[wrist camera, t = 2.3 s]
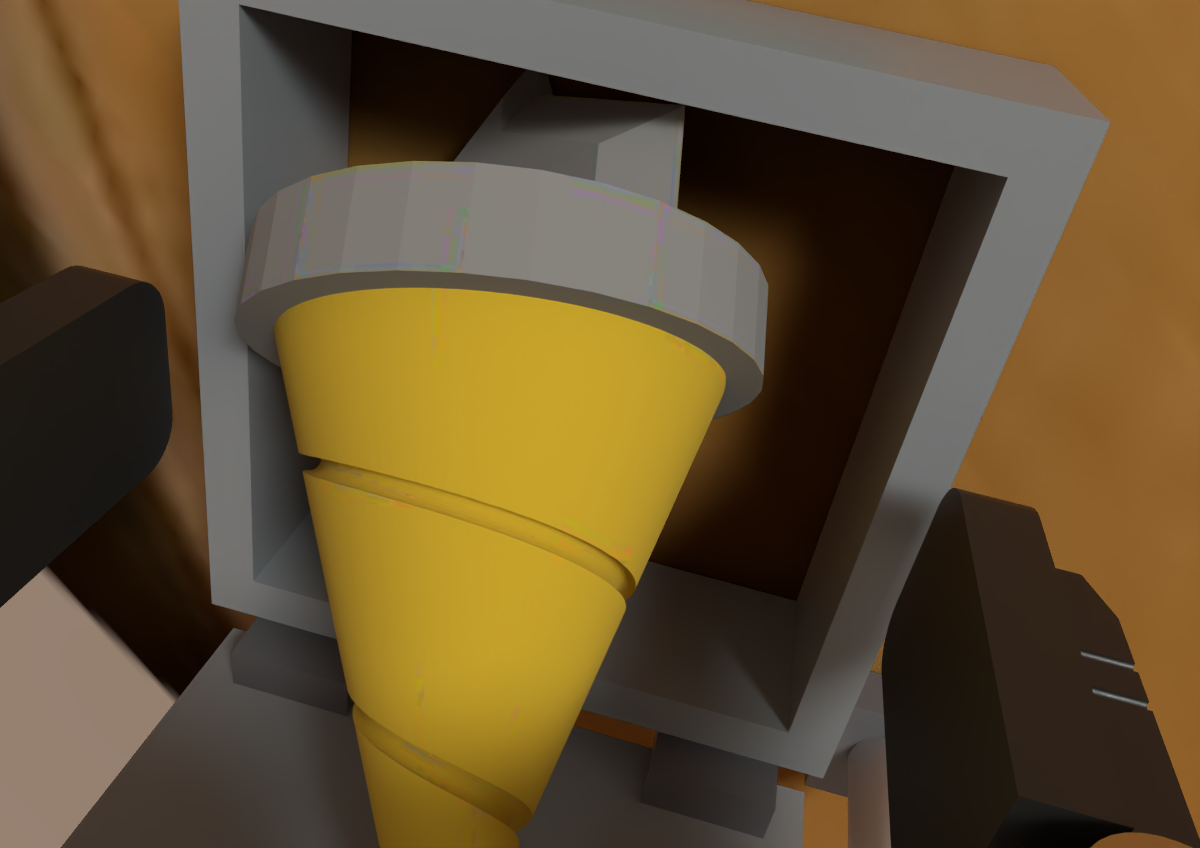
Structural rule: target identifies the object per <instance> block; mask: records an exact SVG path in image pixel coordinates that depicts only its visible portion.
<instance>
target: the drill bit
mask: <svg viewBox="0 0 1200 848" xmlns="http://www.w3.org/2000/svg"><path fill="white" fill-rule="evenodd" d="M684 117H685V105H675V104H661V103H647V102H634V101H620V100H606V99H593V98H579V97H565V96H553V93H552V89H551V85H550V81H549V77H548V74H546V73H542V72H538V71H533V70H529V69H526V70H525V71H524V72H523V74H522V75H521V76H520V77H519V78H518V80H517V81H516V82H515V83H514V84H513V86H512V87H511V88H510V89H509V90H508V92H507V93H506V94H505V95H504V96H503V98H502V99H501V100H500V102H499V103H498V104H497V105H496V107H495V108H494V109H493V111H492V112H491V113H490V115H489V116H488V117H487V118H486V120H485V121H484V122H483V124H482V125H481V126H480V128H479V129H478V130H477V132H476V133H475V134H474V135H473V137H472V138H471V139H470V141H469V142H468V143H467V145H466V146H465V147H464V149H463V150H462V151H461V152H460V154H459V155H458V156H457V158H456V159H455V160H454V162H439V161H407V162H396V163H384V164H373V165H361V166H354V167H350V168H345V169H341V170H337V171H332V172H328V173H323V174H319V175H315V176H311V177H309V178H306V179H304V180H302V181H300V182H297V183H295V184H293V185H291V186H288V187H286V188H284V189H282V190H279V191H278V192H277V193H276V194H274V195H273V196H272V197H271V198H270V199H269V200H268V201H266V202H265V203H264V204H263V205H262V206H261V207H260V208H259V209H258V211H257V214H256V216H255V219H254V222H253V224H252V227H251V231H250V237H249V242H248V247H247V253H246V258H245V264H244V269H243V274H242V280H241V285H240V291H239V296H238V301H237V307H236V312H235V318H234V320H235V324H236V327H237V330H238V334H239V336H240V337H241V338H242V339H243V340H244V341H245V342H246V343H247V344H248V345H249V346H250V347H251V348H252V349H253V350H254V351H255V352H257V353H258V354H260V355H261V356H263V357H264V358H266V359H267V360H269V361H270V362H272V363H273V364H275V365H277V366H279V367H281V369H282V374H283V379H284V384H285V389H286V393H287V398H288V403H289V408H290V413H291V418H292V423H293V428H294V432H295V437H296V442H297V447H298V452H299V453H300V454H304V455H308V456H312V457H317V458H321V462H320V464H319V465H318V466H317V467H316V468H315V469H313V470H304V471H303V476H304V481H305V486H306V491H307V496H308V501H309V505H310V510H311V515H312V520H313V525H314V530H315V535H316V540H317V544H318V549H319V554H320V559H321V564H322V569H323V574H324V579H325V583H326V588H327V593H328V598H329V603H330V608H331V613H332V617H333V622H334V627H335V632H336V637H337V642H338V647H339V652H340V656H341V661H342V666H343V671H344V676H345V681H346V686H347V690H348V693H349V695H350V697H351V699H352V700H353V701H354V703H355V704H354V707H353V720H354V725H355V729H356V734H357V739H358V744H359V749H360V754H361V759H362V763H363V768H364V773H365V778H366V783H367V788H368V793H369V798H370V802H371V807H372V812H373V817H374V822H375V827H376V832H377V836H378V841H379V846H380V848H518V847H519V844H520V842H519V838H518V836H517V835H516V833H515V832H517V831H518V830H520V829H522V828H523V827H525V826H526V825H527V824H528V823H529V822H530V821H531V819H532V817H533V814H534V812H535V810H536V808H537V805H538V803H539V801H540V799H541V797H542V794H543V792H544V790H545V788H546V786H547V783H548V781H549V779H550V777H551V774H552V772H553V770H554V768H555V766H556V763H557V761H558V759H559V757H560V755H561V752H562V750H563V748H564V746H565V743H566V741H567V739H568V737H569V735H570V732H571V730H572V728H573V726H574V724H575V721H576V719H577V717H578V715H579V713H580V710H581V708H582V706H583V704H584V701H585V699H586V697H587V695H588V693H589V690H590V688H591V686H592V684H593V682H594V679H595V677H596V675H597V673H598V670H599V668H600V666H601V664H602V662H603V659H604V657H605V655H606V653H607V651H608V648H609V646H610V644H611V642H612V639H613V637H614V635H615V633H616V631H617V628H618V626H619V624H620V622H621V620H622V617H623V615H624V613H625V611H626V603H625V601H626V600H627V599H628V598H629V597H631V595H632V594H633V593H634V591H635V589H636V586H637V584H638V582H639V580H640V578H641V575H642V573H643V571H644V569H645V566H646V564H647V562H648V560H649V558H650V555H651V553H652V551H653V549H654V547H655V544H656V542H657V540H658V538H659V535H660V533H661V531H662V529H663V527H664V524H665V522H666V520H667V518H668V516H669V513H670V511H671V509H672V507H673V504H674V502H675V500H676V498H677V496H678V493H679V491H680V489H681V487H682V485H683V482H684V480H685V478H686V476H687V473H688V471H689V469H690V467H691V465H692V462H693V460H694V458H695V456H696V454H697V451H698V449H699V447H700V445H701V443H702V440H703V438H704V436H705V434H706V431H707V429H708V427H709V425H710V423H711V420H712V419H715V418H718V417H721V416H724V415H727V414H731V413H733V412H735V411H737V410H739V409H741V408H742V407H744V406H746V405H748V404H750V403H751V402H752V401H753V400H754V399H755V398H756V397H757V396H758V394H759V393H760V392H761V391H762V385H763V376H764V358H765V340H766V322H767V304H768V286H769V285H768V283H767V281H766V279H765V276H764V274H763V272H762V269H761V267H760V265H759V264H758V263H757V262H756V261H755V260H754V259H753V257H752V256H751V255H750V254H749V253H748V252H747V251H746V250H745V249H744V248H743V247H742V246H741V245H740V244H739V243H738V242H736V241H735V240H733V239H732V238H730V237H729V236H727V235H726V234H724V233H723V232H721V231H719V230H718V229H716V228H715V227H713V226H712V225H710V224H709V223H707V222H706V221H704V220H701V219H699V218H697V217H695V216H693V215H690V214H688V213H686V212H684V211H682V210H679V209H677V205H678V193H679V180H680V167H681V155H682V142H683V129H684Z"/></svg>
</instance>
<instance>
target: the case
mask: <svg viewBox="0 0 1200 848" xmlns="http://www.w3.org/2000/svg"><path fill="white" fill-rule="evenodd" d="M179 17H180V35H181V53H182V71H183V89H184V107H185V125H186V143H187V162H188V180H189V198H190V216H191V234H192V252H193V270H194V288H195V306H196V325H197V343H198V361H199V379H200V397H201V415H202V433H203V451H204V469H205V488H206V506H207V524H208V542H209V560H210V578H211V596H212V604H215V605H219V606H222V607H226V608H229V609H233V610H236V611H240V612H243V613H247V614H250V615H254V616H257V619H256V620H255V621H254V622H253V624H252V625H251V626H250V628H249V629H248V630H247V632H246V631H243V630H239V629H236V628H233V629H232V631H231V632H230V633H229V635H228V636H227V637H226V638H225V640H224V641H223V642H222V643H221V645H220V646H219V647H218V648H217V650H216V651H215V652H214V654H213V655H212V656H211V657H210V659H209V660H208V661H207V662H206V664H205V665H204V666H203V668H202V669H201V670H200V671H199V673H198V674H197V675H196V676H195V678H194V679H193V680H192V682H191V683H190V684H189V685H188V687H187V688H186V689H185V690H184V692H183V693H182V694H181V696H180V697H179V698H178V699H177V701H176V702H175V703H174V704H173V706H172V707H171V709H170V710H169V711H168V712H167V713H166V715H165V716H164V717H163V719H162V720H161V721H160V722H159V724H158V725H157V726H156V727H155V729H154V730H153V731H152V732H151V734H150V735H149V736H148V738H147V739H146V740H145V741H144V743H143V744H142V745H141V746H140V748H139V749H138V750H137V751H136V753H135V754H134V755H133V757H132V758H131V759H130V760H129V762H128V763H127V764H126V765H125V767H124V768H123V769H122V771H121V772H120V773H119V774H118V776H117V777H116V778H115V779H114V781H113V782H112V783H111V785H110V786H109V787H108V788H107V790H106V791H105V792H104V794H103V795H102V796H101V797H100V799H99V800H98V801H97V802H96V804H95V805H94V806H93V807H92V809H91V810H90V811H89V812H88V814H87V815H86V816H85V818H84V819H83V820H82V821H81V823H80V824H79V825H78V827H77V828H76V829H75V830H74V832H73V833H72V834H71V836H70V837H69V838H68V839H67V840H66V842H65V843H64V844H63V846H62V847H61V848H380V846H379V841H378V836H377V832H376V827H375V822H374V817H373V812H372V807H371V802H370V798H369V793H368V788H367V783H366V778H365V773H364V768H363V763H362V759H361V754H360V749H359V744H358V739H357V734H356V729H355V725H354V720H353V707H354V704H355V703H354V701H353V700H352V699H351V697H350V695H349V693H348V690H347V686H346V681H345V676H344V671H343V666H342V661H341V656H340V652H339V647H338V642H337V637H336V632H335V627H334V622H333V617H332V613H331V608H330V603H329V598H328V593H327V588H326V583H325V579H324V574H323V569H322V564H321V559H320V554H319V549H318V544H317V540H316V535H315V530H314V525H313V520H312V515H311V510H310V505H309V501H308V496H307V491H306V486H305V481H304V476H303V471H304V470H313V469H315V468H316V467H317V466H318V465H319V464H320V462H321V458H317V457H312V456H308V455H304V454H300V453H299V452H298V447H297V442H296V437H295V432H294V428H293V423H292V418H291V413H290V408H289V403H288V398H287V393H286V389H285V384H284V379H283V374H282V369H281V367H279V366H277V365H275V364H273V363H272V362H270V361H269V360H267V359H266V358H264V357H263V356H261V355H260V354H258V353H257V352H255V351H254V350H253V349H252V348H251V347H250V346H249V345H248V344H247V343H246V342H245V341H244V340H243V339H242V338H241V337H240V336H239V334H238V330H237V327H236V324H235V320H234V318H235V312H236V307H237V301H238V296H239V291H240V285H241V280H242V274H243V269H244V264H245V258H246V253H247V247H248V242H249V237H250V231H251V227H252V224H253V222H254V219H255V216H256V214H257V211H258V209H259V208H260V207H261V206H262V205H263V204H264V203H265V202H266V201H268V200H269V199H270V198H271V197H272V196H273V195H274V194H276V193H277V192H278V191H279V190H282V189H284V188H286V187H288V186H291V185H293V184H295V183H297V182H300V181H302V180H304V179H306V178H309V177H311V176H315V175H319V174H323V173H328V172H332V171H337V170H341V169H345V168H348V141H349V110H350V79H351V48H352V30H355V31H360V32H364V33H369V34H373V35H378V36H382V37H387V38H391V39H395V40H400V41H404V42H409V43H413V44H418V45H422V46H427V47H431V48H435V49H440V50H444V51H449V52H453V53H458V54H462V55H467V56H471V57H475V58H480V59H484V60H489V61H493V62H498V63H502V64H507V65H511V66H515V67H520V68H524V69H529V70H533V71H538V72H542V73H546V74H551V75H555V76H560V77H564V78H569V79H573V80H578V81H582V82H586V83H591V84H595V85H600V86H604V87H609V88H613V89H618V90H622V91H626V92H631V93H635V94H640V95H644V96H649V97H653V98H658V99H662V100H666V101H671V102H675V103H680V104H684V105H689V106H693V107H698V108H702V109H706V110H711V111H715V112H720V113H724V114H729V115H733V116H738V117H742V118H746V119H751V120H755V121H760V122H764V123H769V124H773V125H778V126H782V127H786V128H791V129H795V130H800V131H804V132H809V133H813V134H817V135H822V136H826V137H831V138H835V139H840V140H844V141H849V142H853V143H857V144H862V145H866V146H871V147H875V148H880V149H884V150H889V151H893V152H897V153H902V154H906V155H911V156H915V157H920V158H924V159H929V160H933V161H937V162H942V163H946V164H951V165H955V167H954V170H953V172H952V175H951V178H950V181H949V183H948V186H947V189H946V192H945V194H944V197H943V200H942V203H941V205H940V208H939V211H938V214H937V216H936V219H935V222H934V225H933V227H932V230H931V233H930V236H929V238H928V241H927V244H926V246H925V249H924V252H923V255H922V257H921V260H920V263H919V266H918V268H917V271H916V274H915V277H914V279H913V282H912V285H911V288H910V290H909V293H908V296H907V299H906V301H905V304H904V307H903V310H902V312H901V315H900V318H899V321H898V323H897V326H896V329H895V332H894V334H893V337H892V340H891V343H890V345H889V348H888V351H887V354H886V356H885V359H884V362H883V365H882V367H881V370H880V373H879V376H878V378H877V381H876V384H875V387H874V389H873V392H872V395H871V398H870V400H869V403H868V406H867V409H866V411H865V414H864V417H863V420H862V422H861V425H860V428H859V431H858V433H857V436H856V439H855V442H854V444H853V447H852V450H851V453H850V455H849V458H848V461H847V464H846V466H845V469H844V472H843V475H842V477H841V480H840V483H839V486H838V488H837V491H836V494H835V497H834V499H833V502H832V505H831V508H830V510H829V513H828V516H827V519H826V521H825V524H824V527H823V530H822V532H821V535H820V538H819V541H818V543H817V546H816V549H815V552H814V554H813V557H812V560H811V563H810V565H809V568H808V571H807V574H806V576H805V579H804V582H803V585H802V587H801V590H800V593H799V596H798V598H797V601H794V600H790V599H786V598H783V597H779V596H775V595H772V594H768V593H764V592H761V591H757V590H753V589H749V588H746V587H742V586H738V585H735V584H731V583H727V582H724V581H720V580H716V579H712V578H709V577H705V576H701V575H698V574H694V573H690V572H687V571H683V570H679V569H675V568H672V567H668V566H664V565H661V564H657V563H653V562H650V561H648V562H647V564H646V566H645V569H644V571H643V573H642V575H641V578H640V580H639V582H638V584H637V586H636V589H635V591H634V593H633V594H632V595H631V597H629V598H628V599H627V600H626V601H625V603H626V611H625V613H624V615H623V617H622V620H621V622H620V624H619V626H618V628H617V631H616V633H615V635H614V637H613V639H612V642H611V644H610V646H609V648H608V651H607V653H606V655H605V657H604V659H603V662H602V664H601V666H600V668H599V670H598V673H597V675H596V677H595V679H594V682H593V684H592V686H591V688H590V690H589V693H588V695H587V697H586V699H585V701H584V704H583V706H582V708H581V709H582V710H585V711H589V712H592V713H596V714H599V715H603V716H606V717H610V718H613V719H617V720H620V721H624V722H627V723H631V724H634V725H637V726H641V727H644V728H648V729H651V730H655V731H657V732H656V735H655V739H654V742H653V747H652V748H648V747H645V746H641V745H638V744H634V743H631V742H627V741H624V740H621V739H617V738H614V737H610V736H607V735H603V734H600V733H596V732H593V731H589V730H586V729H582V728H579V727H575V726H573V728H572V730H571V732H570V735H569V737H568V739H567V741H566V743H565V746H564V748H563V750H562V752H561V755H560V757H559V759H558V761H557V763H556V766H555V768H554V770H553V772H552V774H551V777H550V779H549V781H548V783H547V786H546V788H545V790H544V792H543V794H542V797H541V799H540V801H539V803H538V805H537V808H536V810H535V812H534V814H533V817H532V819H531V821H530V822H529V823H528V824H527V825H526V826H525V827H523V828H522V829H520V830H518V831H517V832H515V833H516V835H517V836H518V838H519V842H520V844H519V847H518V848H802V842H803V817H804V792H801V791H797V790H794V789H790V788H787V787H783V786H780V785H777V781H778V766H781V767H784V768H788V769H791V770H794V771H798V772H801V773H805V785H807V786H810V787H814V788H817V789H821V790H824V791H828V792H831V793H835V794H838V795H842V796H845V797H848V848H891V839H890V820H889V802H888V783H887V765H886V746H885V728H884V709H883V691H882V674H879V673H875V672H872V671H870V670H871V668H872V666H873V664H874V661H875V659H876V657H877V654H878V652H879V650H880V648H881V645H882V643H883V641H884V638H885V636H886V633H887V629H888V625H889V622H890V619H891V616H892V613H893V610H894V608H895V605H896V603H897V600H898V598H899V596H900V594H901V591H902V589H903V587H904V584H905V582H906V580H907V577H908V575H909V573H910V570H911V568H912V566H913V564H914V561H915V559H916V557H917V554H918V552H919V550H920V547H921V545H922V543H923V540H924V538H925V536H926V533H927V531H928V529H929V527H930V524H931V522H932V520H933V517H934V515H935V513H936V510H937V508H938V506H939V504H940V502H941V500H942V499H943V497H944V496H945V494H946V493H947V492H948V491H949V490H950V488H951V486H952V483H953V481H954V479H955V477H956V474H957V472H958V470H959V467H960V465H961V463H962V461H963V458H964V456H965V454H966V451H967V449H968V447H969V445H970V442H971V440H972V438H973V435H974V433H975V431H976V429H977V426H978V424H979V422H980V419H981V417H982V415H983V413H984V410H985V408H986V406H987V404H988V401H989V399H990V397H991V394H992V392H993V390H994V388H995V385H996V383H997V381H998V378H999V376H1000V374H1001V372H1002V369H1003V367H1004V365H1005V362H1006V360H1007V358H1008V356H1009V353H1010V351H1011V349H1012V347H1013V344H1014V342H1015V340H1016V337H1017V335H1018V333H1019V331H1020V328H1021V326H1022V324H1023V321H1024V319H1025V317H1026V315H1027V312H1028V310H1029V308H1030V305H1031V303H1032V301H1033V299H1034V296H1035V294H1036V292H1037V290H1038V287H1039V285H1040V283H1041V280H1042V278H1043V276H1044V274H1045V271H1046V269H1047V267H1048V264H1049V262H1050V260H1051V258H1052V255H1053V253H1054V251H1055V248H1056V246H1057V244H1058V242H1059V239H1060V237H1061V235H1062V233H1063V230H1064V228H1065V226H1066V223H1067V221H1068V219H1069V217H1070V214H1071V212H1072V210H1073V207H1074V205H1075V203H1076V201H1077V198H1078V196H1079V194H1080V191H1081V189H1082V187H1083V185H1084V182H1085V180H1086V178H1087V175H1088V173H1089V171H1090V169H1091V166H1092V164H1093V162H1094V160H1095V157H1096V155H1097V153H1098V150H1099V148H1100V146H1101V144H1102V141H1103V139H1104V137H1105V134H1106V132H1107V130H1108V128H1109V125H1110V123H1111V122H1110V121H1109V120H1108V119H1107V118H1106V117H1105V116H1104V115H1103V114H1102V113H1101V112H1100V111H1099V110H1098V109H1097V108H1096V107H1095V106H1094V105H1093V104H1092V103H1091V102H1090V101H1089V100H1088V99H1087V98H1086V97H1085V96H1084V95H1083V94H1082V93H1081V92H1080V91H1079V90H1078V89H1077V88H1076V87H1075V86H1074V85H1073V84H1072V83H1071V82H1070V81H1069V80H1068V79H1067V78H1066V77H1065V76H1064V75H1063V74H1062V73H1061V72H1060V71H1059V70H1058V69H1057V68H1056V67H1055V66H1051V65H1046V64H1042V63H1037V62H1032V61H1028V60H1023V59H1018V58H1014V57H1009V56H1004V55H1000V54H995V53H990V52H986V51H981V50H976V49H972V48H967V47H962V46H957V45H953V44H948V43H943V42H939V41H934V40H929V39H925V38H920V37H915V36H911V35H906V34H901V33H897V32H892V31H887V30H883V29H878V28H873V27H869V26H864V25H859V24H855V23H850V22H845V21H840V20H836V19H831V18H826V17H822V16H817V15H812V14H808V13H803V12H798V11H794V10H789V9H784V8H780V7H775V6H770V5H766V4H761V3H756V2H752V1H747V0H179Z"/></svg>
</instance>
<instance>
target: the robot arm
mask: <svg viewBox="0 0 1200 848" xmlns="http://www.w3.org/2000/svg"><path fill="white" fill-rule="evenodd" d="M171 428H172V401H171V388H170V375H169V361H168V348H167V335H166V322H165V310H164V304H163V300H162V297H161V295H160V293H159V291H158V290H157V289H156V288H155V287H154V286H153V285H152V284H149V283H147V282H143V281H139V280H135V279H131V278H127V277H123V276H119V275H115V274H111V273H107V272H103V271H99V270H95V269H91V268H87V267H83V266H71V267H68V268H66V269H64V270H62V271H60V272H58V273H56V274H55V275H53V276H51V277H49V278H47V279H45V280H43V281H42V282H40V283H38V284H36V285H34V286H32V287H30V288H28V289H27V290H25V291H23V292H21V293H19V294H17V295H15V296H14V297H12V298H10V299H8V300H6V301H4V302H2V303H0V607H2V606H3V605H4V604H5V603H6V602H7V601H8V600H9V599H10V598H12V597H13V596H14V595H15V594H16V593H17V592H18V591H19V590H20V589H22V588H23V587H24V586H25V585H26V584H27V583H28V582H29V581H30V580H31V579H33V578H34V577H35V576H36V575H37V574H38V573H39V572H40V571H42V570H43V569H44V568H45V567H46V566H47V565H48V564H49V563H50V562H52V561H53V560H54V559H55V558H56V557H57V556H58V555H59V554H60V553H62V552H63V551H64V550H65V549H66V548H67V547H68V546H69V545H70V544H72V543H73V542H74V541H75V540H76V539H77V538H78V537H79V536H80V535H82V534H83V533H84V532H85V531H86V530H87V529H88V528H89V527H90V526H92V525H93V524H94V523H95V522H96V521H97V520H98V519H99V518H100V517H102V516H103V515H104V514H105V513H106V512H107V511H108V510H109V509H110V508H112V507H113V506H114V505H115V504H116V503H117V502H118V501H119V500H120V499H122V498H123V497H124V496H125V495H126V494H127V493H128V492H129V491H130V490H132V489H133V488H134V487H135V486H136V485H137V484H138V483H139V482H140V481H142V480H143V479H144V478H145V477H146V476H147V475H148V474H149V473H150V472H151V471H152V470H153V469H154V468H155V466H156V465H157V464H158V462H159V460H160V459H161V457H162V455H163V453H164V451H165V449H166V446H167V444H168V441H169V437H170V433H171ZM1134 664H1135V662H1134V660H1133V657H1132V654H1131V652H1130V649H1129V646H1128V643H1127V641H1126V638H1125V635H1124V633H1123V630H1122V627H1121V624H1120V622H1119V619H1118V618H1117V616H1116V615H1115V614H1114V613H1113V612H1112V611H1111V609H1110V608H1109V607H1108V606H1107V605H1106V603H1105V602H1104V601H1103V600H1102V599H1101V598H1100V596H1099V595H1098V594H1097V593H1096V592H1095V590H1094V589H1093V588H1092V587H1091V586H1090V585H1089V583H1088V582H1087V581H1086V580H1085V579H1084V577H1083V576H1082V575H1080V574H1076V573H1072V572H1068V571H1065V570H1061V569H1057V568H1055V566H1054V563H1053V559H1052V556H1051V553H1050V550H1049V546H1048V543H1047V540H1046V536H1045V533H1044V530H1043V527H1042V523H1041V520H1040V517H1039V515H1038V512H1037V511H1036V510H1035V509H1034V508H1032V507H1028V506H1024V505H1020V504H1016V503H1013V502H1009V501H1005V500H1001V499H997V498H993V497H989V496H985V495H981V494H977V493H973V492H969V491H965V490H961V489H957V488H952V489H950V490H949V491H948V492H947V493H946V494H945V496H944V497H943V499H942V500H941V502H940V504H939V506H938V508H937V510H936V513H935V515H934V517H933V520H932V522H931V524H930V527H929V529H928V531H927V533H926V536H925V538H924V540H923V543H922V545H921V547H920V550H919V552H918V554H917V557H916V559H915V561H914V564H913V566H912V568H911V570H910V573H909V575H908V577H907V580H906V582H905V584H904V587H903V589H902V591H901V594H900V596H899V598H898V600H897V603H896V605H895V608H894V610H893V613H892V616H891V619H890V622H889V625H888V629H887V633H886V638H885V643H884V649H883V656H882V691H883V709H884V728H885V746H886V765H887V783H888V802H889V820H890V839H891V848H1200V839H1199V837H1198V834H1197V831H1196V828H1195V826H1194V823H1193V820H1192V818H1191V815H1190V812H1189V809H1188V807H1187V804H1186V801H1185V799H1184V796H1183V793H1182V790H1181V788H1180V785H1179V782H1178V780H1177V777H1176V774H1175V771H1174V769H1173V766H1172V763H1171V760H1170V758H1169V755H1168V752H1167V750H1166V747H1165V744H1164V741H1163V739H1162V736H1161V733H1160V731H1159V728H1158V725H1157V722H1156V720H1155V717H1154V714H1153V711H1149V710H1147V705H1148V702H1149V701H1148V698H1147V695H1146V692H1145V690H1144V687H1143V684H1142V682H1141V679H1140V676H1139V673H1138V672H1134V671H1133V667H1134Z"/></svg>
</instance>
